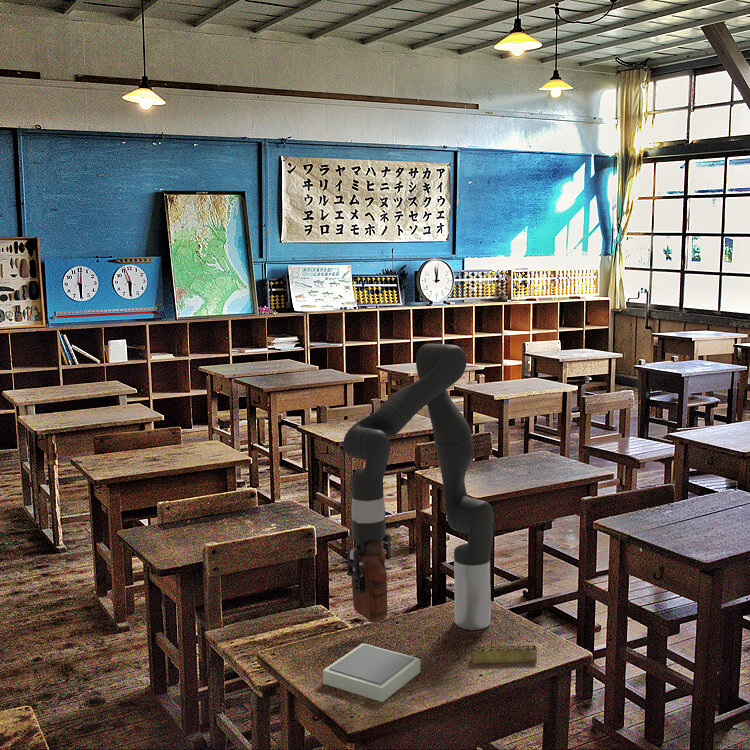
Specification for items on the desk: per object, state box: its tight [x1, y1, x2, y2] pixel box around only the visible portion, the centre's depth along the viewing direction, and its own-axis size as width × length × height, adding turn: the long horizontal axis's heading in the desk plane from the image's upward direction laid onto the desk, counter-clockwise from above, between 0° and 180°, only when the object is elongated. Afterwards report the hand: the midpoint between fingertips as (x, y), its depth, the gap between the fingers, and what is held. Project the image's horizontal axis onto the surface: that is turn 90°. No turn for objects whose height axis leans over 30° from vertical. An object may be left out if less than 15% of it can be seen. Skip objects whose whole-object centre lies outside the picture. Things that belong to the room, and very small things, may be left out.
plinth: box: [322, 642, 421, 703], centre depth 199 cm, size 16×16×4 cm
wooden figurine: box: [351, 540, 388, 623], centre depth 197 cm, size 12×6×18 cm, turn 28°
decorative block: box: [470, 644, 538, 664], centre depth 206 cm, size 15×2×4 cm, turn 90°
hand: (370, 586), depth 197 cm, fingers closed on wooden figurine, 8 cm apart
